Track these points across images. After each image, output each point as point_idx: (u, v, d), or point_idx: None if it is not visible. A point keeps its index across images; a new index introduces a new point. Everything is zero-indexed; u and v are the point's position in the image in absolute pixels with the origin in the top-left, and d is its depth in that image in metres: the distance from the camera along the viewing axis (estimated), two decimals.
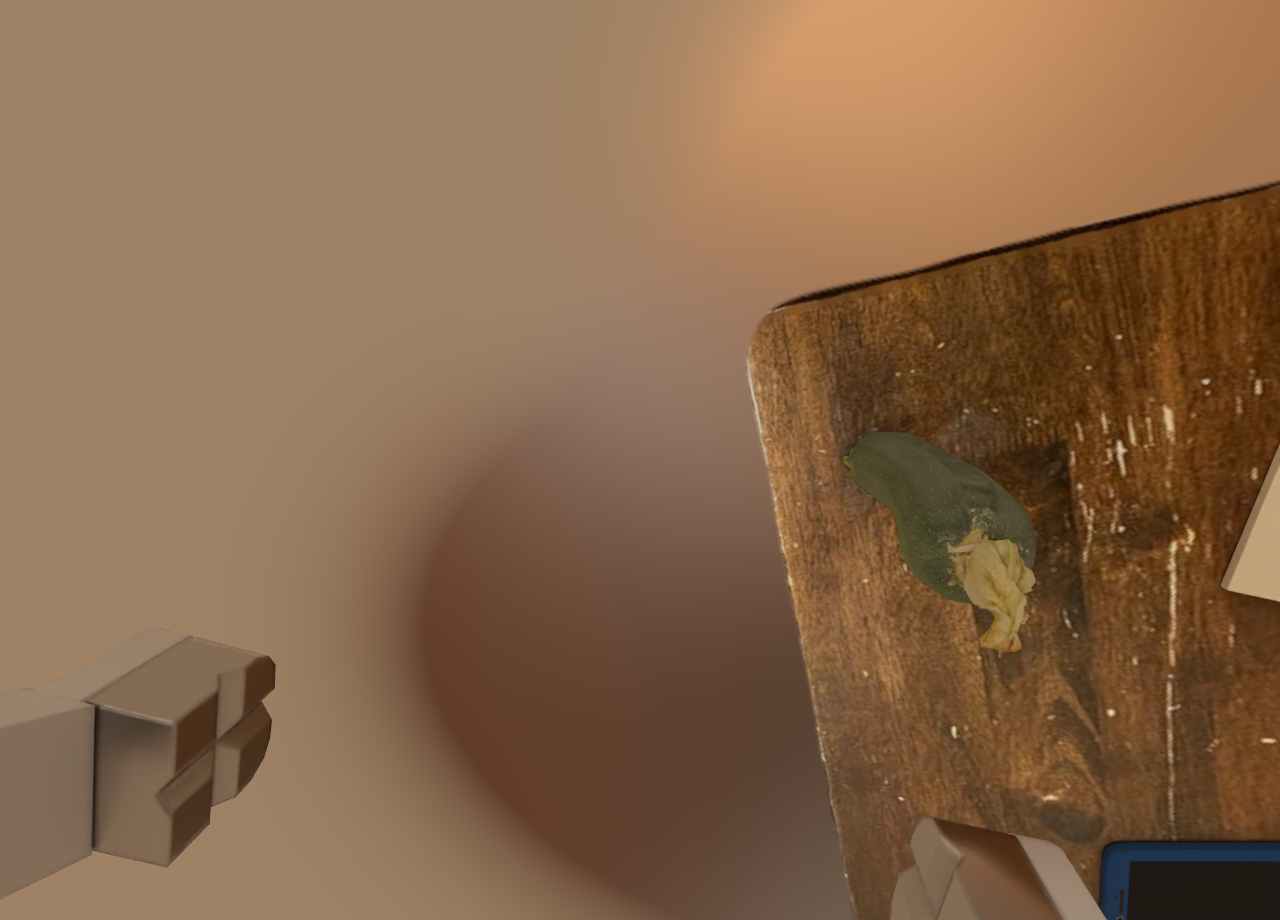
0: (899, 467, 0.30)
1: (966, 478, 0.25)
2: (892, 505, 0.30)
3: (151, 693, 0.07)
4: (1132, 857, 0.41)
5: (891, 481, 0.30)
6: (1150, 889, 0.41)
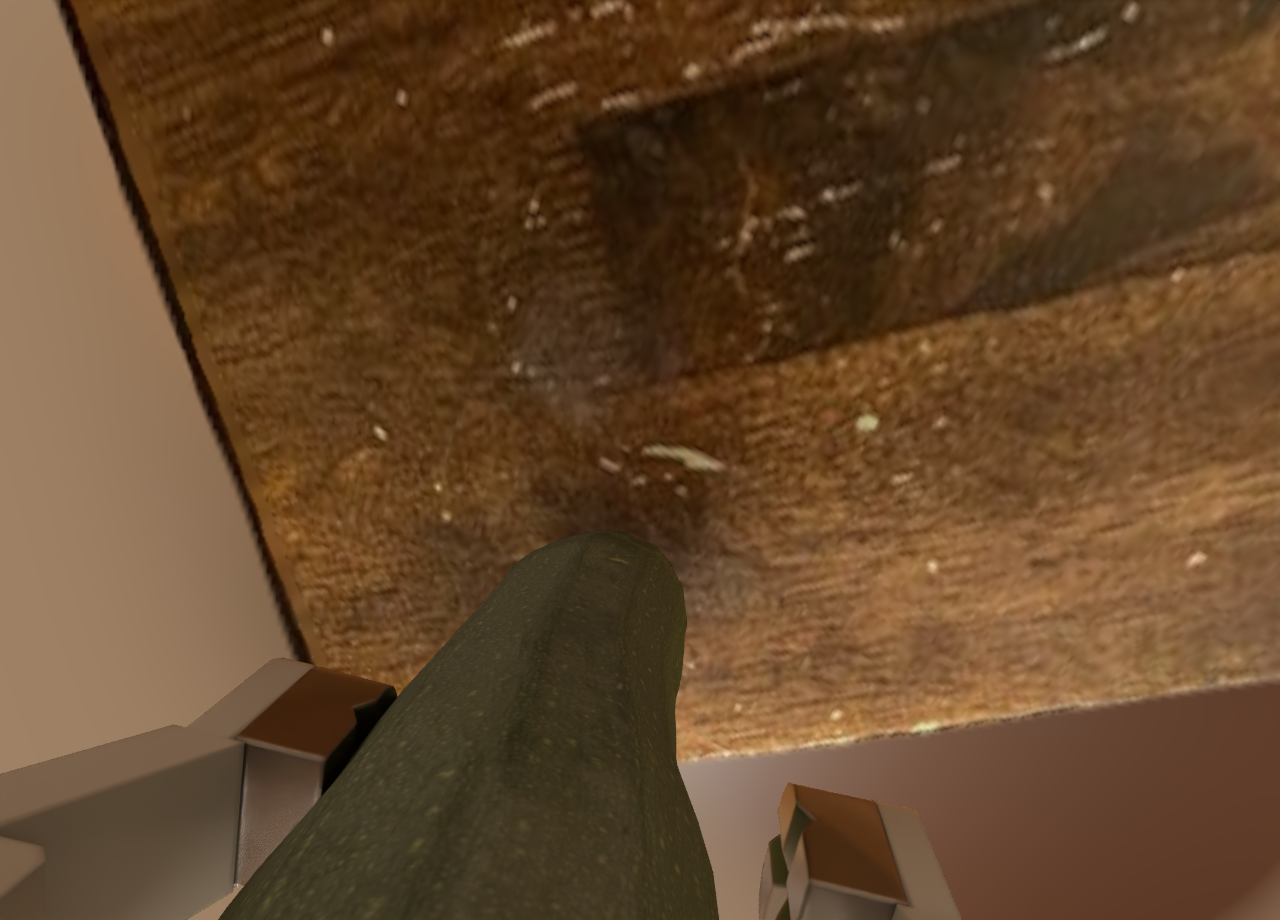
0: None
1: None
2: None
3: (294, 728, 0.07)
4: None
5: None
6: None
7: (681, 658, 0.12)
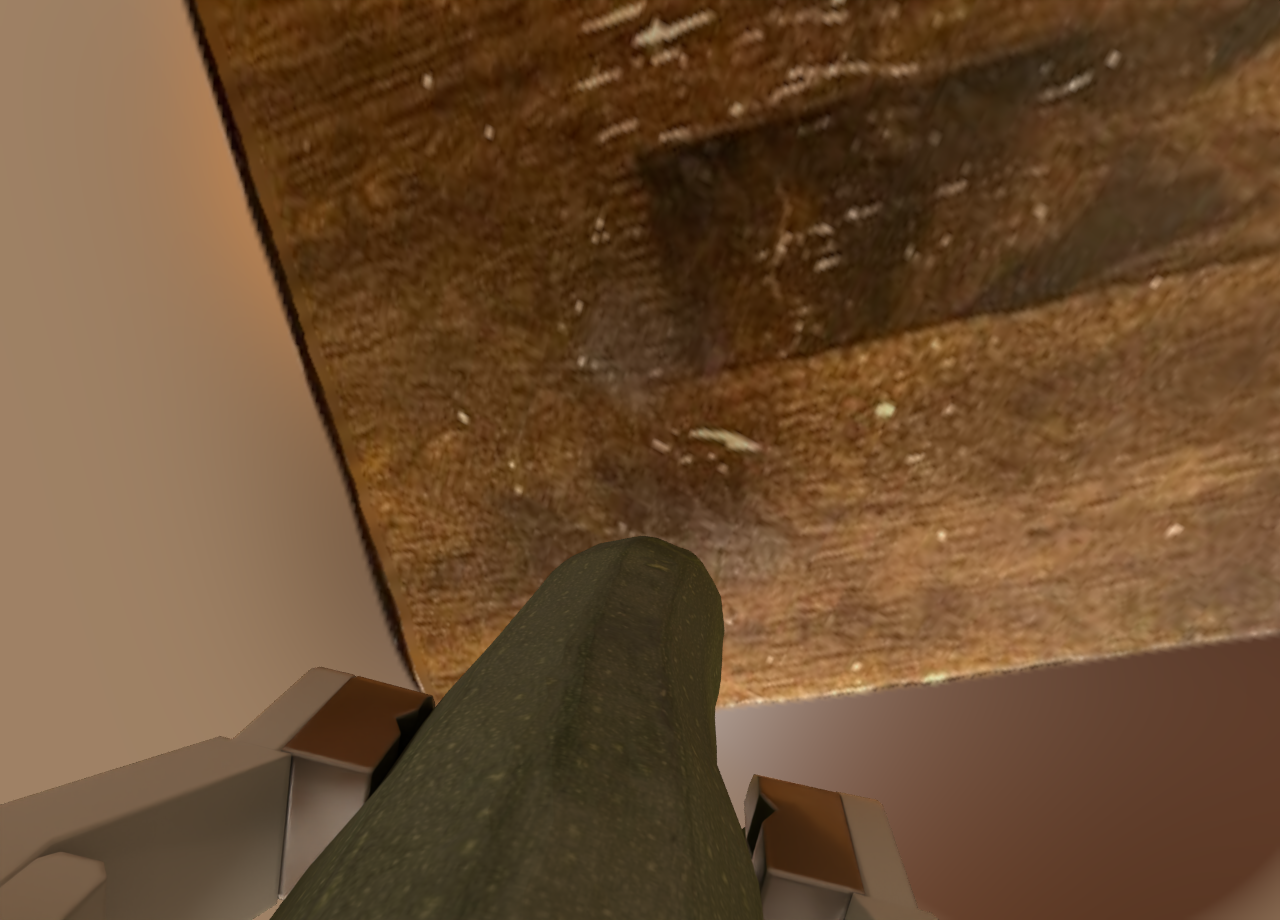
0: None
1: None
2: None
3: (339, 739, 0.07)
4: None
5: None
6: None
7: (720, 666, 0.12)
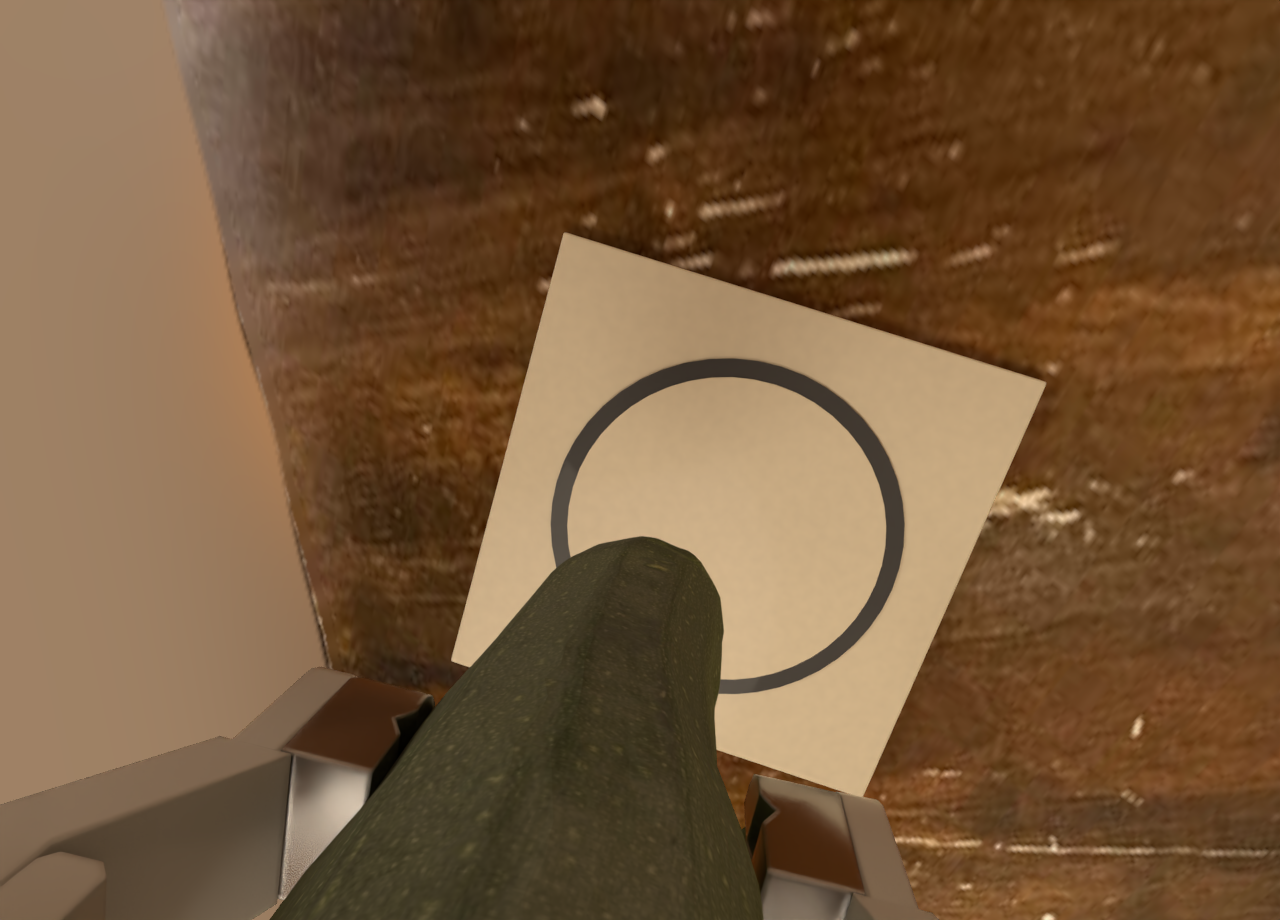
0: None
1: None
2: None
3: (339, 739, 0.07)
4: None
5: None
6: None
7: (720, 666, 0.12)
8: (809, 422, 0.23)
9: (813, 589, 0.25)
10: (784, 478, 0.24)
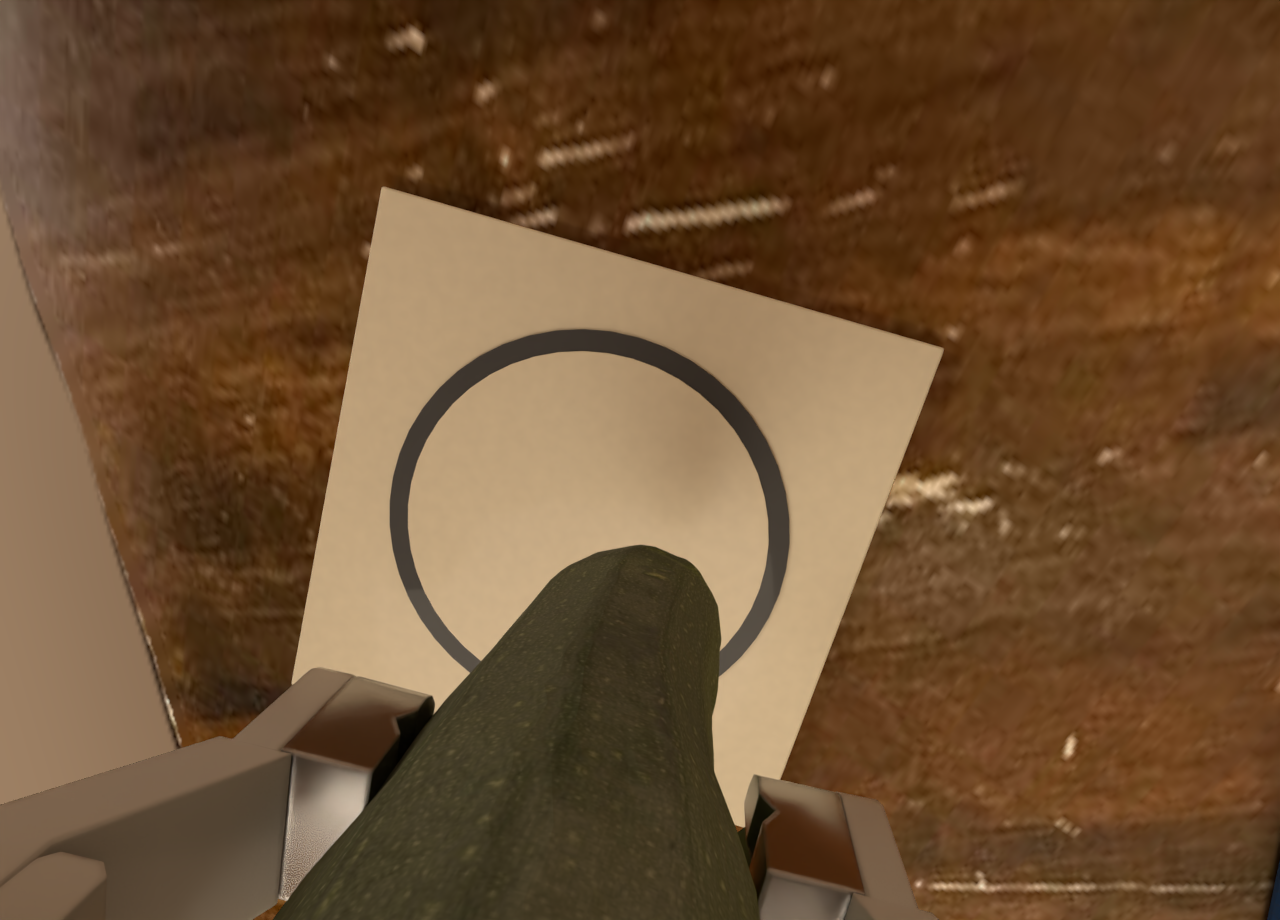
0: None
1: None
2: None
3: (339, 739, 0.07)
4: None
5: None
6: None
7: (717, 675, 0.12)
8: (674, 401, 0.20)
9: None
10: (649, 467, 0.21)
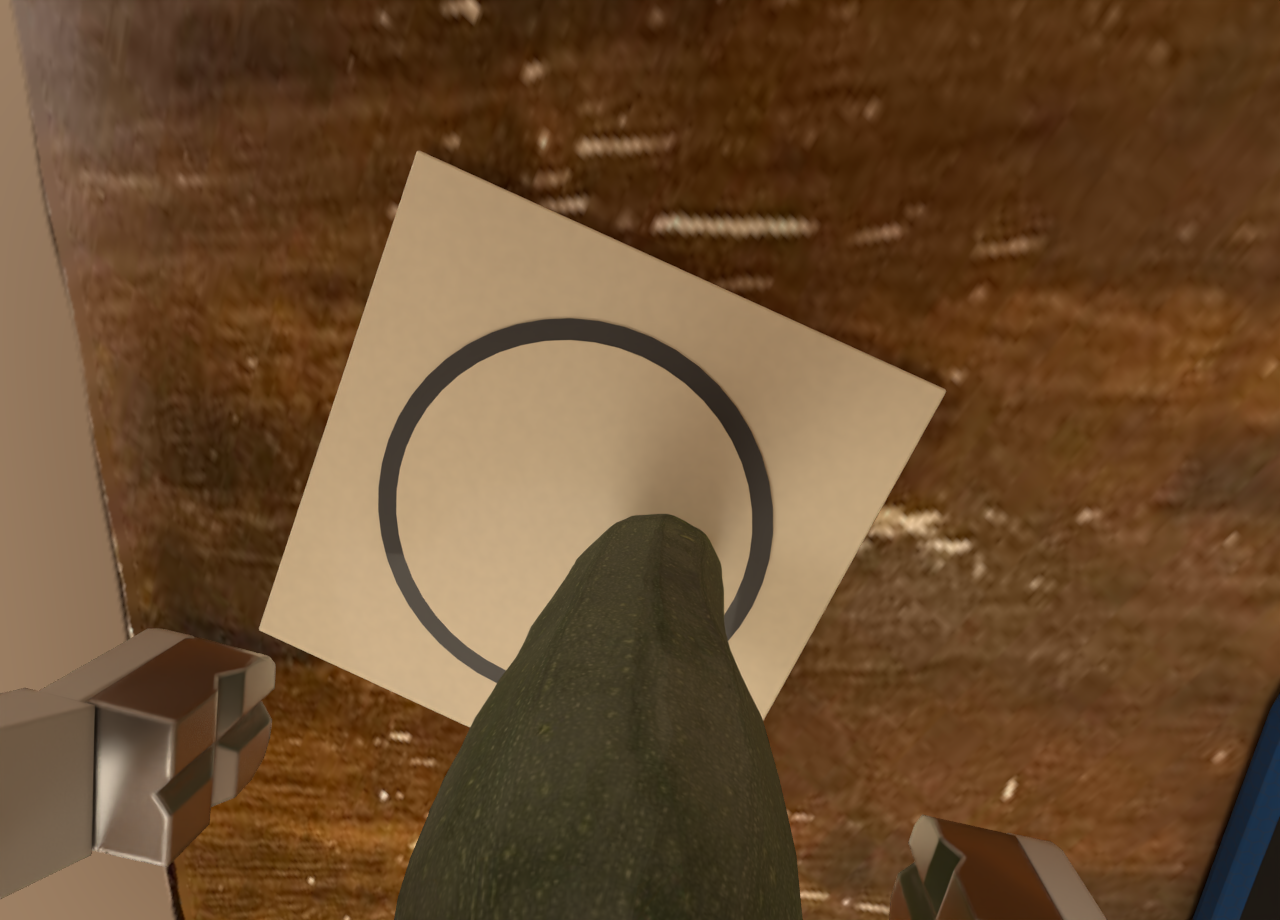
0: None
1: None
2: None
3: (151, 693, 0.07)
4: None
5: None
6: None
7: None
8: (677, 404, 0.20)
9: None
10: (643, 465, 0.21)
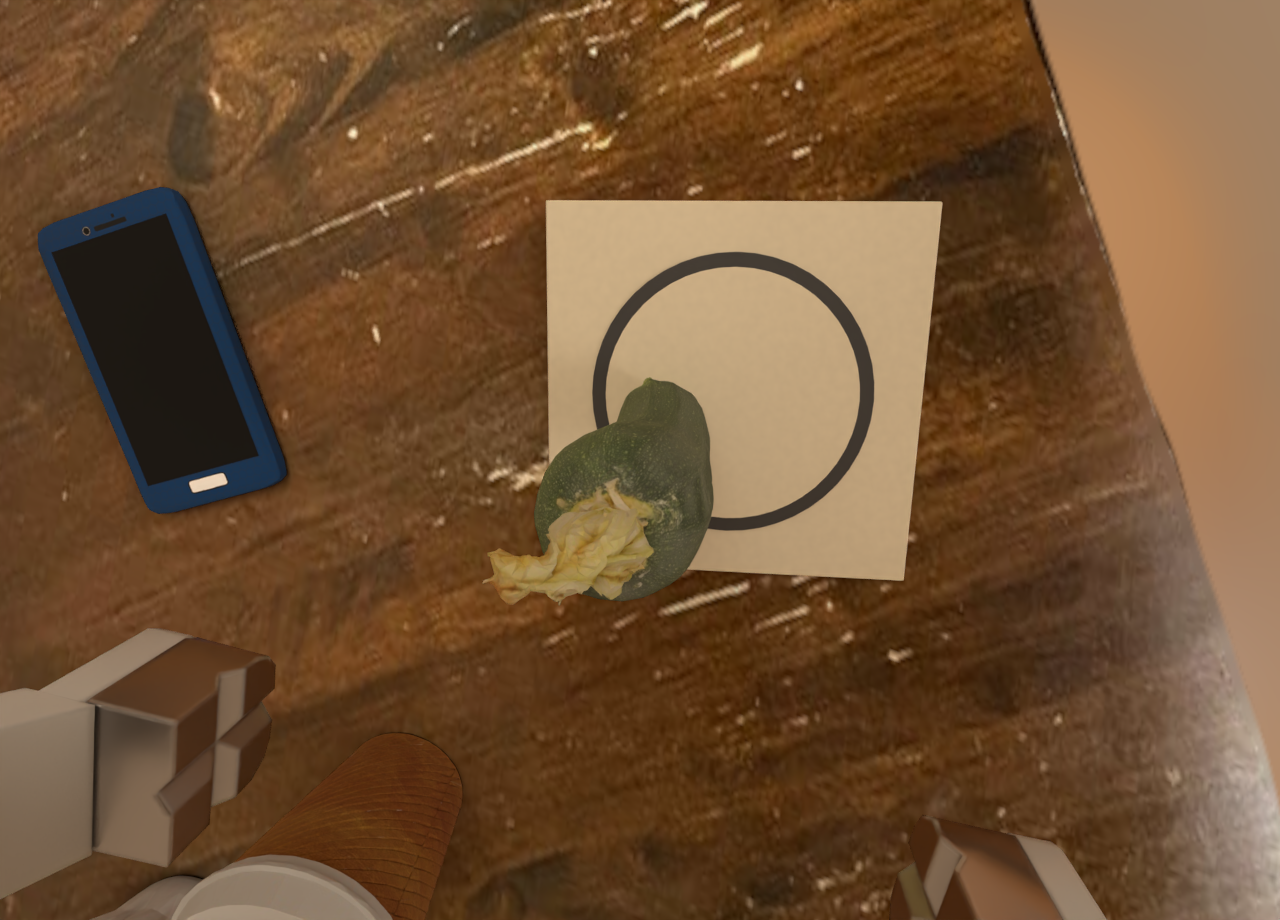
0: (674, 421, 0.23)
1: (704, 486, 0.18)
2: None
3: (151, 693, 0.07)
4: (172, 214, 0.31)
5: (654, 417, 0.22)
6: (139, 252, 0.32)
7: None
8: None
9: (648, 374, 0.31)
10: None
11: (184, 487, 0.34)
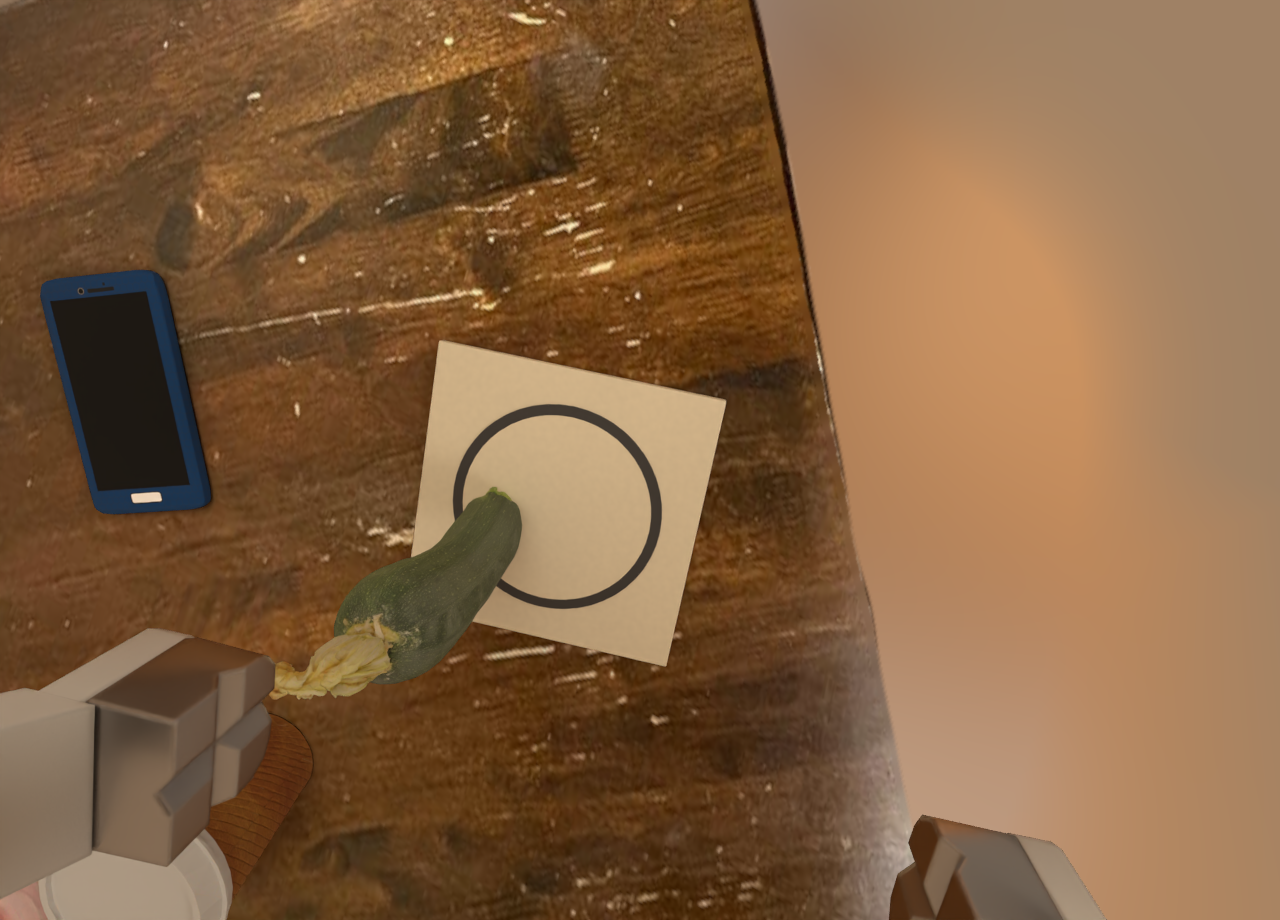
0: (473, 547, 0.32)
1: (454, 615, 0.27)
2: (435, 548, 0.31)
3: (151, 693, 0.07)
4: (150, 292, 0.40)
5: (459, 543, 0.32)
6: (120, 315, 0.40)
7: None
8: (519, 577, 0.42)
9: (497, 481, 0.40)
10: (526, 546, 0.41)
11: (126, 497, 0.43)
